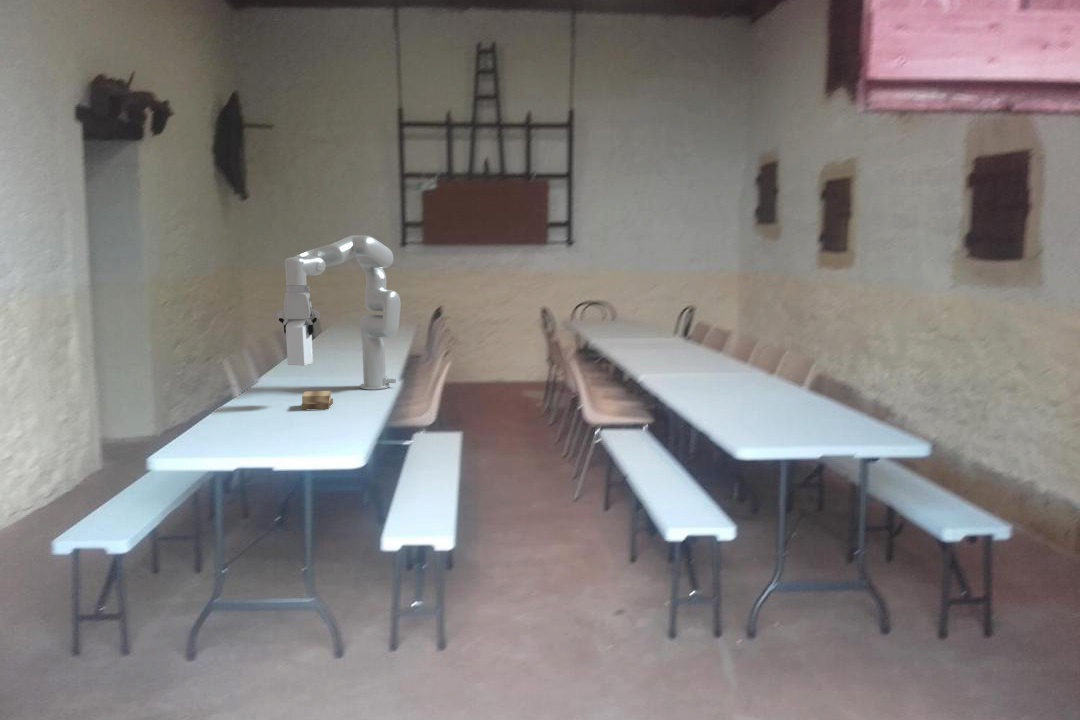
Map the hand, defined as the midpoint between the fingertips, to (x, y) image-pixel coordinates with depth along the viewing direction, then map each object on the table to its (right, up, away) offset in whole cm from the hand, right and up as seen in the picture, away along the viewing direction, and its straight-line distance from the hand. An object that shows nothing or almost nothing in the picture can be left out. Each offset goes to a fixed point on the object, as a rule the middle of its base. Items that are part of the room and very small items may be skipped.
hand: (299, 334), depth 342 cm
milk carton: (0, -12, +2) cm, 12 cm away
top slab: (+7, -26, 0) cm, 27 cm away
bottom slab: (+7, -29, 0) cm, 30 cm away
